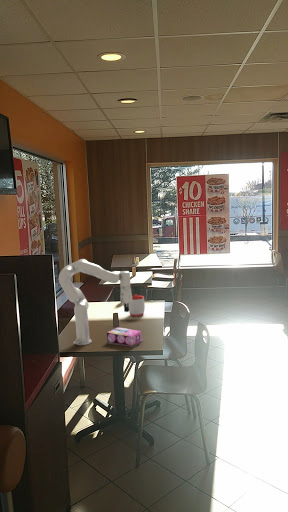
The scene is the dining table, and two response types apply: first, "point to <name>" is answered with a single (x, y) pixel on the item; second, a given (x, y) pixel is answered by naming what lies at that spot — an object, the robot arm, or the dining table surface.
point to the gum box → (124, 336)
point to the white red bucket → (137, 306)
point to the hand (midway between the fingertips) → (126, 311)
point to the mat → (126, 345)
